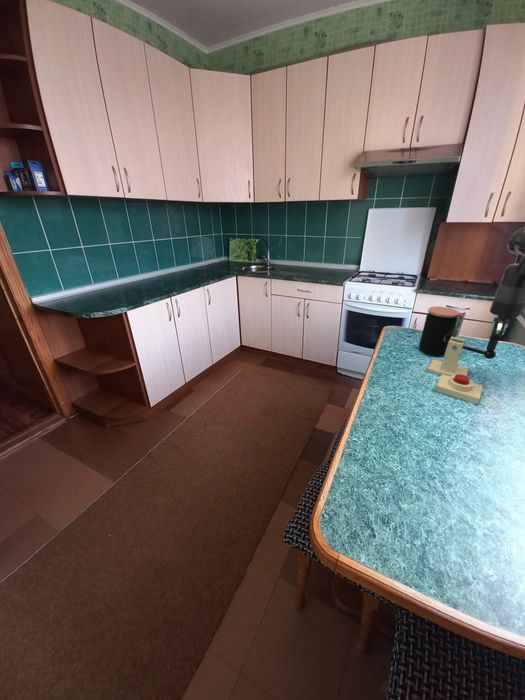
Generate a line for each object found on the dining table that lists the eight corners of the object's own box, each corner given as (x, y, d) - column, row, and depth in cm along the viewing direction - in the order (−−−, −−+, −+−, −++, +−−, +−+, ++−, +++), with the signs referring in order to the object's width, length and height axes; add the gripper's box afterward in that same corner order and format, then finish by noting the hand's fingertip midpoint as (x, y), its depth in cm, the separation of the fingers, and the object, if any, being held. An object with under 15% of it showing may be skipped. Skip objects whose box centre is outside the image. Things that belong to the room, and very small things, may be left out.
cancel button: (468, 381, 95) (470, 376, 94) (467, 386, 92) (468, 382, 92) (454, 377, 97) (456, 372, 97) (452, 382, 95) (454, 378, 94)
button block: (480, 391, 96) (484, 381, 94) (477, 404, 90) (481, 393, 88) (440, 379, 103) (443, 369, 101) (434, 390, 97) (437, 380, 95)
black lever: (493, 358, 98) (497, 349, 97) (493, 361, 96) (497, 353, 95) (450, 346, 105) (453, 338, 104) (449, 349, 103) (452, 341, 102)
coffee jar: (443, 359, 116) (455, 317, 107) (414, 352, 122) (424, 311, 114) (449, 350, 123) (462, 310, 114) (422, 343, 129) (432, 304, 121)
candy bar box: (423, 343, 129) (432, 308, 122) (427, 340, 132) (436, 305, 125) (451, 351, 122) (463, 314, 114) (454, 347, 125) (466, 311, 118)
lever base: (468, 371, 107) (479, 340, 102) (464, 382, 101) (476, 349, 95) (432, 362, 114) (440, 332, 108) (426, 371, 108) (435, 340, 102)
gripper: (524, 307, 82) (503, 360, 90) (525, 296, 91) (505, 345, 99) (492, 302, 86) (474, 353, 94) (495, 292, 96) (478, 340, 103)
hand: (490, 349), depth 97 cm, fingers closed
